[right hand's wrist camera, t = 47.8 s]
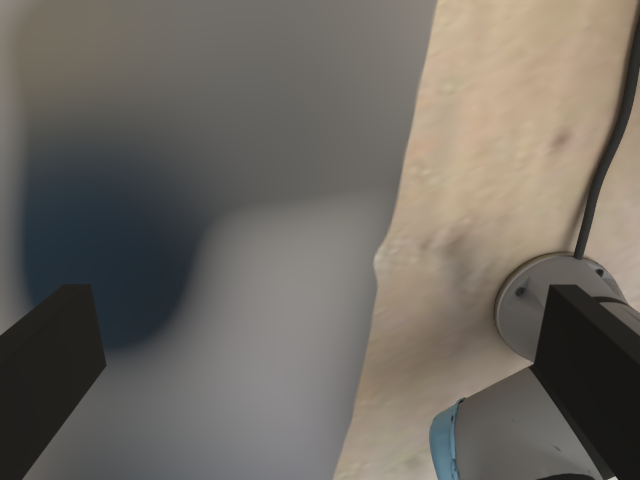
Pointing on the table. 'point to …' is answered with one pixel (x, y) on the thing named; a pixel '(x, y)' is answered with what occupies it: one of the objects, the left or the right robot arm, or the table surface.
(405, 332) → the table surface
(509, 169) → the table surface
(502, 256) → the table surface
